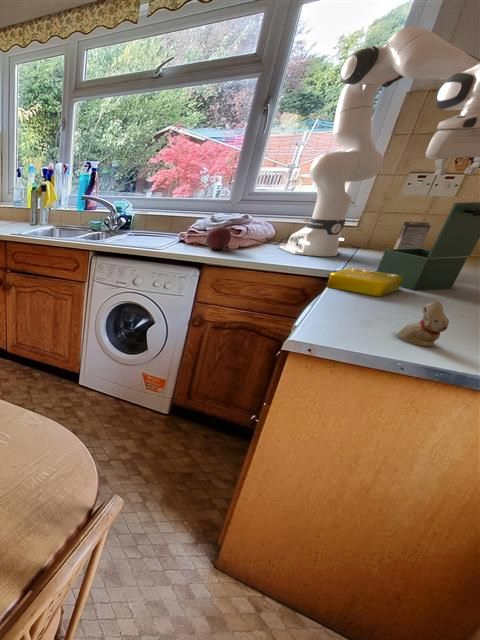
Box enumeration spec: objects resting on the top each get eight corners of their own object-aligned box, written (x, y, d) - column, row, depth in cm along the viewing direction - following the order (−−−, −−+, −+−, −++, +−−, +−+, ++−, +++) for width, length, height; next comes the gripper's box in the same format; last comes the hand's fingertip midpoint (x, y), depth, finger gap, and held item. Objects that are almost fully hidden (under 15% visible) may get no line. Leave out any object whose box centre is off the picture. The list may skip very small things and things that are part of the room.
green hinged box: (373, 278, 150) (385, 249, 145) (408, 277, 150) (421, 248, 145) (413, 289, 137) (427, 258, 132) (451, 288, 137) (467, 257, 132)
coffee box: (385, 265, 164) (404, 221, 157) (408, 267, 161) (428, 222, 153) (387, 270, 158) (406, 224, 151) (410, 272, 155) (432, 225, 147)
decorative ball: (206, 251, 196) (212, 228, 191) (201, 247, 205) (206, 225, 200) (230, 251, 194) (236, 228, 189) (224, 247, 202) (229, 225, 198)
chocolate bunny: (407, 345, 100) (428, 304, 95) (394, 334, 106) (413, 294, 101) (438, 349, 98) (461, 306, 93) (423, 336, 104) (444, 296, 99)
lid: (454, 202, 125) (472, 205, 120) (496, 201, 125) (516, 203, 121) (427, 256, 132) (443, 260, 128) (467, 255, 133) (484, 259, 128)
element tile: (323, 286, 143) (328, 272, 140) (345, 279, 149) (350, 265, 147) (379, 297, 131) (386, 281, 129) (400, 289, 138) (407, 274, 136)
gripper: (501, 120, 126) (476, 173, 133) (433, 122, 126) (411, 175, 132) (526, 119, 121) (499, 173, 127) (455, 121, 120) (431, 176, 127)
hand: (454, 174), depth 130 cm, fingers open, 8 cm apart
